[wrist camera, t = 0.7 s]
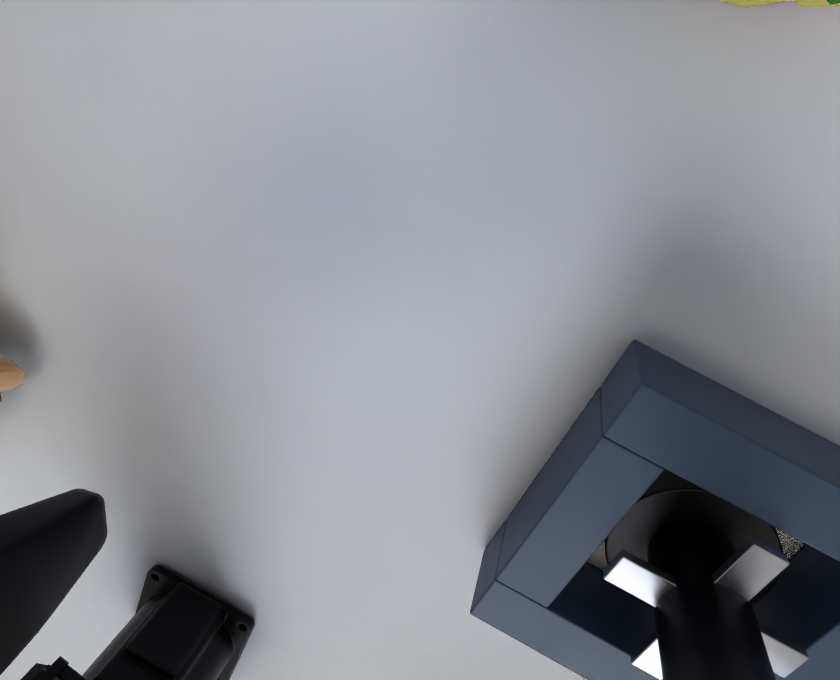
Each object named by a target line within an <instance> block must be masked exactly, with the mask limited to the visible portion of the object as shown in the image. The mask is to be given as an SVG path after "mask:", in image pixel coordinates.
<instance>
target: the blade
mask: <svg viewBox="0 0 840 680" xmlns="http://www.w3.org/2000/svg"><path fill="white" fill-rule="evenodd" d="M605 554H606V559H607V563H608V566H607V567H606V568H605V569H604V571H603V578H604V579H605V580H606V581H608V582H610V583H612V584H614V585H615V586H617V587H619V588H621V589H623V590H625V591H626V592H628V593H629V594H630V595H631V596H633V597H634V598H635V599H637V600H638V601H640V602H641V603H643V604H645V605H647V606H649V607H651V608H653V609H654V614H655V622H656V630H655V631H654V632H653V633H652V634H651V635H650V636H649V637H648V638H647V639H646V640H645V641H644V642H643V643H642V644H641V645H640V646H639V647H638V648H637V649H636V650H635V651H634V652H633V653H632V654H631V655H630V656H631V664H633V665H634V666H636V667H638V668H640V669H642V670H643V671H645V672H647V673H649V674H651V675H652V676H654V677H656V678H658V679H659V680H662V679H663V680H776V678H775V675H774V673H776V674H778V675H779V676H781V677H783V678H785V677H787V676H788V675H789V674H791V673H792V672H793V671H794V670H796V669H797V668H798V667H800V666H801V665H802V664H803V663H805V662H806V661H807V660H809V656H808V653H807V651H806V649H805V648H803V647H802V646H800V645H798V644H796V643H794V642H792V641H791V640H789V639H787V638H785V637H783V636H781V635H780V634H778V633H776V632H774V631H772V630H770V629H769V628H767V627H765V626H763V625H761V624H759V623H758V622H757V619H756V615H755V612H754V609H753V606H752V605H753V604H755V603H757V602H758V601H759V600H761V599H762V598H763V597H765V596H766V595H767V593H768V592H769V591H770V590H771V589H772V588H773V586H774V585H775V583H776V582H777V580H778V578H779V575H780V573H781V572H782V571H783V570H784V569H785V568H786V567H787V566H788V565H789V564H790V563H789V561H788V558H787V556H786V555H785V554H783V551H782V545H781V542H780V539H779V536H778V534H777V532H776V529H775V527H774V526H772V525H770V524H768V523H766V522H764V521H763V520H761V519H759V518H757V517H755V516H753V515H751V514H749V513H748V512H746V511H744V510H742V509H740V508H738V507H736V506H734V505H733V504H731V503H729V502H727V501H725V500H723V499H721V498H719V497H718V496H716V495H714V494H712V493H710V492H708V491H706V490H704V489H703V488H701V487H699V486H697V485H695V484H693V483H691V482H689V481H688V480H686V479H684V478H682V477H680V476H678V475H676V474H674V473H673V472H671V471H669V470H667V469H665V468H664V470H663V472H662V473H661V474H660V475H659V476H658V477H657V479H656V480H655V481H654V482H653V483H652V485H651V486H650V487H649V488H648V489H647V490H646V492H645V493H644V494H643V495H642V496H641V498H640V499H639V500H638V501H637V502H636V503H635V505H634V506H633V507H632V508H631V509H630V511H629V512H628V513H627V514H626V515H625V516H624V518H623V519H622V520H621V521H620V522H619V524H618V525H617V526H616V527H615V528H614V530H613V531H612V532H611V533H610V534H609V535H608V537H607V538H606V539H605Z"/></svg>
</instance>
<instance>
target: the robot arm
mask: <svg viewBox="0 0 840 680" xmlns="http://www.w3.org/2000/svg"><path fill="white" fill-rule="evenodd" d="M106 537H107V522H106V512H105V502H104V499H103V497H102V496H101V495H99V494H97V493H94V492H91V491H88V490H85V489H74V490H71V491H68V492H65V493H62V494H59V495H56V496H53V497H51V498H48V499H45V500H42V501H39V502H36V503H34V504H31V505H28V506H25V507H22V508H19V509H17V510H14V511H11V512H8V513H5V514H2V515H0V675H1V674H2V673H3V672H4V670H5V669H6V668H7V667H8V666H9V665H10V664H11V663H12V661H13V660H14V659H15V658H16V657H17V656H18V655H19V654H20V652H21V651H22V650H23V649H24V648H25V647H26V646H27V644H28V643H29V642H30V641H31V640H32V639H33V637H34V636H35V635H36V634H37V633H38V632H39V630H40V629H41V628H42V627H43V625H44V624H45V623H46V621H47V620H48V619H49V618H50V616H51V615H52V614H53V612H54V611H55V610H56V608H57V607H58V606H59V604H60V603H61V602H62V600H63V599H64V598H65V596H66V595H67V594H68V592H69V591H70V590H71V588H72V587H73V585H74V584H75V583H76V581H77V580H78V579H79V577H80V576H81V575H82V573H83V572H84V571H85V569H86V568H87V567H88V565H89V564H90V563H91V561H92V560H93V559H94V557H95V556H96V555H97V553H98V552H99V551H100V549H101V548H102V546H103V544H104V542H105V540H106ZM254 625H255V623H254V621H253V619H252V618H251V617H249V616H248V615H246V614H244V613H243V612H241V611H239V610H237V609H236V608H234V607H232V606H230V605H229V604H227V603H225V602H223V601H222V600H220V599H218V598H217V597H215V596H213V595H211V594H210V593H208V592H206V591H204V590H203V589H201V588H199V587H197V586H196V585H194V584H192V583H190V582H189V581H187V580H185V579H184V578H182V577H180V576H178V575H177V574H175V573H173V572H171V571H170V570H168V569H166V568H164V567H163V566H161V565H154V566H153V567H152V568H151V569H150V570H149V571H148V573H147V576H146V580H145V583H144V587H143V590H142V593H141V597H140V600H139V603H138V607H137V610H136V614H135V615H134V617H133V618H132V619H131V620H130V621H129V622H128V624H127V625H126V626H125V627H124V628H123V629H122V630H121V632H120V633H119V634H118V635H117V636H116V637H115V638H114V640H113V641H112V642H111V643H110V644H109V645H108V646H107V648H106V649H105V650H104V651H103V652H102V653H101V654H100V656H99V657H98V658H97V659H96V660H95V661H94V663H93V664H92V665H91V666H90V667H89V668H88V669H87V671H86V672H85V673H84V674H83V675H82V676H81V675H80V674H79V673H77V672H76V671H75V670H74V669H72V668H71V667H70V666H68V664H69V663H68V662H67V661H66V660H65V659H63V658H62V657H61V656H60V657H59V658H58V659H57V660H56V661H55V662H54V663H53V664H52V665H51V666H50V665H43V664H38V663H36V664H35V665H34V666H33V667H32V668H31V669H30V670H29V672H28V673H27V674H26V675H25V676H24V677H23V678H22V679H21V680H230V677H231V675H232V673H233V671H234V669H235V667H236V664H237V662H238V660H239V658H240V656H241V654H242V651H243V649H244V647H245V645H246V643H247V641H248V639H249V636H250V634H251V632H252V630H253V628H254Z"/></svg>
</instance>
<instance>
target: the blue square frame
mask: <svg viewBox="0 0 840 680" xmlns="http://www.w3.org/2000/svg"><path fill="white" fill-rule="evenodd" d="M664 468H665V469H667V470H669V471H671V472H673V473H674V474H676V475H678V476H680V477H682V478H684V479H686V480H688V481H689V482H691V483H693V484H695V485H697V486H699V487H701V488H703V489H704V490H706V491H708V492H710V493H712V494H714V495H716V496H718V497H719V498H721V499H723V500H725V501H727V502H729V503H731V504H733V505H734V506H736V507H738V508H740V509H742V510H744V511H746V512H748V513H749V514H751V515H753V516H755V517H757V518H759V519H761V520H763V521H764V522H766V523H768V524H770V525H772V526H774V527H776V528H778V529H779V530H781V531H783V532H785V533H787V534H789V535H791V536H793V537H794V538H796V539H798V540H800V541H802V542H804V543H806V544H808V545H807V546H806V547H805V548H803V549H802V550H801V551H800V552H799V553H798V554H797V555H796V556H795V557H794V558H792V559H791V560H790V561H789V563H790V564H789V565H788V566H787V567H786V568H785V569H784V570H783V571H782V572H781V573H780V575H779V578H778V580H777V582H776V583H775V585H774V586H773V588H772V589H771V590H770V591H769V592H768V593H767V595H766V596H765V597H763V598H762V599H761V600H759V601H758V602H757V603H755V604H753V605H752V606H753V609H754V612H755V615H756V619H757V622H758V623H759V624H761V625H763V626H765V627H767V628H769V629H770V630H772V631H774V632H776V633H778V634H780V635H781V636H783V637H785V638H787V639H789V640H791V641H792V642H794V643H796V644H798V645H800V646H802V647H803V648H805V649H806V651H807V653H808V656H809V660H807V661H806V662H805V663H803V664H802V665H801V666H800V667H798V668H797V669H796V670H794V671H793V672H792V673H791V674H789V675H788V676H787V677H785V678H783V677H781V676H779V675H778V674H776V673H774V675H775V678H776V680H840V446H838V445H836V444H834V443H832V442H830V441H828V440H826V439H824V438H822V437H820V436H818V435H817V434H815V433H813V432H811V431H809V430H807V429H805V428H803V427H801V426H799V425H797V424H795V423H794V422H792V421H790V420H788V419H786V418H784V417H782V416H780V415H778V414H776V413H774V412H772V411H770V410H769V409H767V408H765V407H763V406H761V405H759V404H757V403H755V402H753V401H751V400H749V399H747V398H746V397H744V396H742V395H740V394H738V393H736V392H734V391H732V390H730V389H728V388H726V387H724V386H722V385H721V384H719V383H717V382H715V381H713V380H711V379H709V378H707V377H705V376H703V375H701V374H699V373H698V372H696V371H694V370H692V369H690V368H688V367H686V366H684V365H682V364H680V363H678V362H676V361H674V360H673V359H671V358H669V357H667V356H665V355H663V354H661V353H659V352H657V351H655V350H653V349H651V348H650V347H648V346H646V345H644V344H642V343H640V342H638V341H636V340H634V341H632V343H631V344H630V345H629V347H628V348H627V350H626V351H625V353H624V354H623V355H622V357H621V358H620V360H619V361H618V362H617V364H616V365H615V367H614V368H613V369H612V371H611V372H610V374H609V375H608V377H607V378H606V379H605V381H604V382H603V384H602V385H601V388H599V389H598V391H597V392H596V393H595V395H594V396H593V398H592V399H591V400H590V402H589V403H588V405H587V406H586V408H585V409H584V410H583V412H582V413H581V415H580V416H579V417H578V419H577V420H576V422H575V423H574V425H573V426H572V427H571V429H570V430H569V432H568V433H567V434H566V436H565V437H564V439H563V440H562V442H561V443H560V444H559V446H558V447H557V449H556V450H555V451H554V453H553V454H552V456H551V457H550V458H549V460H548V461H547V463H546V464H545V466H544V467H543V468H542V470H541V471H540V473H539V474H538V475H537V477H536V478H535V480H534V481H533V483H532V484H531V485H530V487H529V488H528V490H527V491H526V492H525V494H524V495H523V497H522V498H521V500H520V501H519V502H518V504H517V505H516V507H515V508H514V509H513V511H512V512H511V514H510V515H509V517H508V518H507V520H506V521H505V522H504V524H503V525H502V526H501V528H500V529H499V531H498V532H497V533H496V535H495V536H494V538H493V539H492V541H491V542H490V543H489V545H488V546H487V548H486V549H485V550H484V554H483V558H482V562H481V567H480V571H479V575H478V580H477V584H476V588H475V593H474V597H473V601H472V606H471V610H470V614H472V615H473V616H475V617H477V618H479V619H480V620H482V621H484V622H486V623H488V624H489V625H491V626H493V627H495V628H497V629H498V630H500V631H502V632H504V633H505V634H507V635H509V636H511V637H513V638H514V639H516V640H518V641H520V642H521V643H523V644H525V645H527V646H529V647H530V648H532V649H534V650H536V651H537V652H539V653H541V654H543V655H545V656H546V657H548V658H550V659H552V660H554V661H555V662H557V663H559V664H561V665H562V666H564V667H566V668H568V669H570V670H571V671H573V672H575V673H577V674H578V675H580V676H582V677H584V678H586V679H587V680H659V679H658V678H656V677H654V676H652V675H651V674H649V673H647V672H645V671H643V670H642V669H640V668H638V667H636V666H634V665H633V664H631V656H630V655H631V654H632V653H633V652H634V651H635V650H636V649H637V648H638V647H639V646H640V645H641V644H642V643H643V642H644V641H645V640H646V639H647V638H648V637H649V636H650V635H651V634H652V633H653V632H654V631H655V630H656V622H655V614H654V609H653V608H651V607H649V606H647V605H645V604H643V603H641V602H640V601H638V600H637V599H635V598H634V597H633V596H631V595H630V594H629V593H628V592H626V591H625V590H623V589H621V588H619V587H617V586H615V585H614V584H612V583H610V582H608V581H606V580H605V579H604V578H603V572H602V571H600V570H598V569H597V568H595V567H593V566H591V565H589V564H587V563H586V561H587V560H588V559H589V558H590V557H591V556H592V554H593V553H594V552H595V551H596V550H597V548H598V547H599V546H600V545H601V544H602V543H603V541H604V540H605V539H606V538H607V537H608V535H609V534H610V533H611V532H612V531H613V530H614V528H615V527H616V526H617V525H618V524H619V522H620V521H621V520H622V519H623V518H624V516H625V515H626V514H627V513H628V512H629V511H630V509H631V508H632V507H633V506H634V505H635V503H636V502H637V501H638V500H639V499H640V498H641V496H642V495H643V494H644V493H645V492H646V490H647V489H648V488H649V487H650V486H651V485H652V483H653V482H654V481H655V480H656V479H657V477H658V476H659V475H660V474H661V473H662V472H663V470H664ZM662 680H663V679H662Z"/></svg>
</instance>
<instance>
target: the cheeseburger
mask: <svg viewBox="0 0 840 680" xmlns="http://www.w3.org/2000/svg"><path fill="white" fill-rule="evenodd" d="M719 1H723V2H727V3H731V4H735V5H738V6H742V7H748V6H755V5H762V4H770V3H777V2H784V1H792V0H719ZM794 1H795V2H797V3H798V4H800V5H801V6H803V7H825V6H840V0H794Z"/></svg>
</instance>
